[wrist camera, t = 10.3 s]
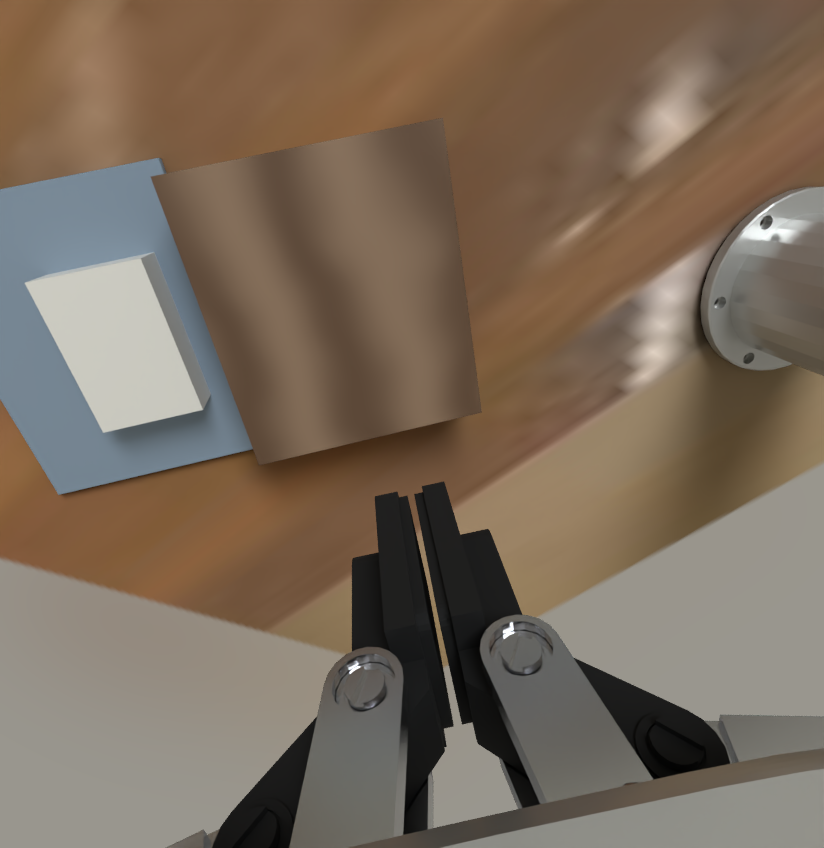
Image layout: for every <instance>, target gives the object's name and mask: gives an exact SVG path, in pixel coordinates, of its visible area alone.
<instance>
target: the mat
mask: <svg viewBox="0 0 824 848" xmlns="http://www.w3.org/2000/svg"><path fill="white" fill-rule="evenodd" d="M161 174H166V171H165V168H164V165H163V162H162V160H161V158H156V159H151V160H146V161H141V162H136V163H131V164H126V165H121V166H116V167H111V168H106V169H101V170H96V171H91V172H86V173H80V174H75V175H70V176H65V177H60V178H55V179H50V180H45V181H40V182H35V183H30V184H25V185H20V186H15V187H10V188H5V189H0V399H1V401H2V402H3V404H4V406H5V407H6V409H7V411H8V412H9V414H10V416H11V417H12V419H13V421H14V422H15V424H16V425H17V427H18V429H19V430H20V432H21V434H22V435H23V437H24V439H25V440H26V442H27V443H28V445H29V447H30V448H31V450H32V452H33V453H34V455H35V457H36V458H37V460H38V462H39V463H40V465H41V466H42V468H43V470H44V471H45V473H46V475H47V476H48V478H49V480H50V481H51V483H52V485H53V486H54V488H55V489H56V491H57V493H58V494H59V495H60V494H64V493H68V492H73V491H77V490H81V489H85V488H90V487H94V486H98V485H102V484H107V483H111V482H115V481H119V480H124V479H128V478H132V477H136V476H140V475H145V474H149V473H153V472H157V471H162V470H166V469H170V468H174V467H179V466H183V465H187V464H191V463H196V462H200V461H204V460H208V459H213V458H217V457H221V456H225V455H229V454H234V453H238V452H242V451H246V450H251V449H253V448H252V445H251V442H250V440H249V437H248V434H247V432H246V429H245V426H244V424H243V421H242V418H241V416H240V413H239V411H238V408H237V405H236V403H235V400H234V397H233V395H232V392H231V389H230V387H229V384H228V381H227V379H226V376H225V373H224V371H223V368H222V365H221V363H220V360H219V357H218V355H217V352H216V349H215V347H214V344H213V342H212V339H211V336H210V334H209V331H208V328H207V326H206V323H205V320H204V318H203V315H202V312H201V310H200V307H199V304H198V302H197V299H196V296H195V294H194V291H193V288H192V286H191V283H190V281H189V278H188V275H187V273H186V270H185V267H184V265H183V262H182V259H181V257H180V254H179V251H178V249H177V246H176V243H175V241H174V238H173V235H172V233H171V230H170V227H169V225H168V222H167V219H166V217H165V214H164V212H163V209H162V206H161V204H160V201H159V198H158V196H157V193H156V190H155V188H154V185H153V182H152V180H151V176H156V175H161ZM153 252H154V253H155V255H156V258H157V260H158V263H159V265H160V268H161V270H162V273H163V275H164V278H165V280H166V283H167V285H168V288H169V290H170V293H171V295H172V298H173V300H174V303H175V305H176V308H177V310H178V313H179V315H180V318H181V320H182V323H183V325H184V328H185V330H186V333H187V335H188V338H189V340H190V343H191V345H192V348H193V350H194V353H195V355H196V358H197V360H198V363H199V365H200V368H201V370H202V373H203V376H204V378H205V381H206V383H207V386H208V388H209V391H210V393H211V395H210V397H209V399H208V401H207V403H206V405H205V407H204V409H203V410H200V411H196V412H192V413H187V414H183V415H178V416H174V417H170V418H165V419H161V420H157V421H152V422H148V423H144V424H139V425H135V426H131V427H126V428H122V429H118V430H113V431H109V432H105V433H103V431H102V429H101V428H100V426H99V424H98V422H97V420H96V418H95V416H94V414H93V412H92V410H91V409H90V407H89V405H88V403H87V401H86V399H85V397H84V395H83V393H82V391H81V389H80V388H79V386H78V384H77V382H76V380H75V378H74V376H73V374H72V372H71V370H70V369H69V367H68V365H67V363H66V361H65V359H64V357H63V355H62V353H61V351H60V349H59V348H58V346H57V344H56V342H55V340H54V338H53V336H52V334H51V332H50V330H49V329H48V327H47V325H46V323H45V321H44V319H43V317H42V315H41V313H40V311H39V309H38V308H37V306H36V304H35V302H34V300H33V298H32V296H31V294H30V292H29V290H28V289H27V287H26V285H25V282H28V281H31V280H34V279H37V278H39V277H42V276H45V275H48V274H53V273H57V272H62V271H67V270H72V269H77V268H81V267H86V266H91V265H96V264H100V263H105V262H110V261H115V260H119V259H124V258H129V257H134V256H138V255H143V254H148V253H153Z"/></svg>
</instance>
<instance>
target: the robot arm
mask: <svg viewBox="0 0 824 848" xmlns="http://www.w3.org/2000/svg"><path fill="white" fill-rule="evenodd" d="M701 323H702V326H703V330H704V333H705V337H706V338H707V340H708V342H709V344H710V346H711V347H712V349H713V350H714V351H715V352H716V353H717V354H718V355H719V356H720V357H722V358H723V359H725V360H727V361H728V362H730V363H732V364H734V365H737V366H739V367H741V368H744V369H750V370H756V371H764V370H774V369H778V368H783V367H787V366H789V365H791V364H795V365H797V366H800V367H802V368H805V369H807V370H810V371H812V372H815V373H817V374H820V375H822V376H824V187H803V188H799V189H794V190H790V191H787V192H785V193H783V194H780V195H778V196H776V197H773V198H771V199H770V200H768V201H767V202H765V203H764V204H762V205H760V206H759V207H757V208H756V209H755V210H754V211H752V212H751V213H750V214H749V215H748V216H747V217H746V218H744V219H743V220H742V221H741V222H740V223H739V224H738V225H737V227H736V228H735V229H734V230H733V231H732V232H731V234H730V235H729V236H728V237H727V238H726V240H725V241H724V243H723V245H722V246H721V248H720V249H719V251H718V252H717V254H716V256H715V258H714V260H713V262H712V264H711V267H710V269H709V271H708V273H707V277H706V280H705V284H704V287H703V291H702V299H701ZM422 489H423V492H422V493H418V494H414V495H415V500H416V505H417V510H418V515H419V521H420V526H421V531H422V536H423V541H424V546H425V551H426V556H427V561H428V567H429V572H430V577H431V582H432V587H433V592H434V597H435V602H436V607H437V612H438V617H439V622H440V627H441V631H442V636H443V640H444V645H445V649H446V654H447V658H448V663H449V667H450V672H451V676H452V681H453V685H454V690H455V694H456V699H457V703H458V708H459V712H460V717H461V721H462V724H466V723H471V722H473V726H474V730H475V734H476V739H477V742H478V744H479V745H481V746H482V747H484V748H485V749H487V750H489V751H490V752H492V753H493V754H495V755H496V756H498V757H499V759H500V764H501V767H502V770H503V773H504V775H505V777H506V780H507V782H508V785H509V787H510V790H511V792H512V795H513V797H514V800H515V802H516V805H517V807H518V809H517V810H513V811H508V812H504V813H500V814H495V815H490V816H486V817H481V818H477V819H473V820H468V821H463V822H459V823H455V824H450V825H446V826H442V827H437V828H433V776H432V770H433V768H434V767H435V765H436V764H437V762H438V760H439V759H440V757H441V756H442V755H443V753H444V751H445V749H444V747H446V741H445V734H444V728H448V727H453V720H452V714H451V709H450V704H449V698H448V693H447V688H446V682H445V677H444V672H443V665H442V660H441V655H440V649H439V644H438V638H437V633H436V628H435V622H434V617H433V611H432V606H431V600H430V595H429V590H428V585H427V580H426V576H425V571H424V567H423V563H422V558H421V554H420V549H419V545H418V541H417V536H416V532H415V527H414V523H413V518H412V514H411V510H410V505H409V501H408V497H407V496H404V497H399V496H398V492H393V493H389V494H384V495H379V496H375V507H376V522H377V536H378V550H379V553H374V554H369V555H365V556H360V557H356V558H353V560H352V652H350V653H348V654H346V655H345V656H344V657H342V658H341V659H340V660H339V661H338V662H336V663H335V665H334V666H333V667H332V669H331V670H330V672H329V673H328V675H327V678H326V681H325V683H324V687H323V692H322V697H321V701H320V706H319V710H318V715H317V717H316V718H315V719H314V721H313V722H312V723H311V724H310V725H309V726H308V727H307V728H306V729H305V731H304V732H303V733H302V734H301V735H300V736H299V737H298V738H297V740H296V741H295V742H294V743H293V744H292V745H291V746H290V747H289V748H288V750H287V751H286V752H285V753H284V754H283V755H282V756H281V757H280V758H279V760H278V761H277V762H276V763H275V764H274V765H273V767H271V769H270V770H269V771H268V772H267V773H266V774H265V775H264V776H263V777H262V779H261V780H260V781H259V782H258V783H257V784H256V785H255V787H254V788H253V789H252V790H251V791H250V792H249V793H248V794H247V795H246V796H245V798H244V799H243V800H242V801H241V802H240V803H239V804H238V805H237V807H236V808H235V809H234V810H233V811H232V812H231V813H230V815H229V816H228V818H227V819H226V820H225V822H224V823H223V824H222V826H221V827H220V829H219V830H217V831H215V832H213V833H210V834H208V835H207V834H206V832H205V831H204V830H202V831H200V832H198V833H195V834H193V835H191V836H189V837H187V838H185V839H183V840H181V841H179V842H177V843H175V844H173V845H170V846H168V847H167V848H824V717H823V716H822V717H820V716H764V715H763V716H762V715H761V716H760V715H720V718H719V721H704V720H702V719H701V718H699V717H698V716H696V715H694V714H693V713H691V712H689V711H688V710H685V709H683V708H681V707H679V706H677V705H675V704H672V703H670V702H668V701H666V700H664V699H662V698H660V697H657V696H655V695H653V694H651V693H649V692H646V691H644V690H642V689H640V688H638V687H636V686H634V685H631V684H629V683H627V682H625V681H623V680H621V679H618V678H616V677H614V676H612V675H610V674H607V673H606V672H603V671H601V670H599V669H597V668H595V667H592V666H590V665H588V664H586V663H584V662H582V661H579V660H577V659H575V658H573V656H572V655H571V653H570V652H569V650H568V649H567V647H566V646H565V644H564V643H563V641H562V640H561V639H560V637H559V635H558V634H557V632H556V631H555V630H554V629H552V627H551V626H550V625H549V624H547V623H545V622H544V621H542V620H541V619H539V618H535V617H532V616H529V615H522V613H521V610H520V608H519V605H518V602H517V600H516V597H515V595H514V592H513V589H512V587H511V584H510V582H509V579H508V577H507V574H506V571H505V569H504V566H503V564H502V561H501V558H500V556H499V553H498V551H497V548H496V546H495V543H494V540H493V538H492V535H491V533H490V531H489V530H488V529H485V530H481V531H476V532H471V533H467V534H462V535H460V533H459V530H458V526H457V523H456V520H455V516H454V513H453V510H452V506H451V503H450V500H449V496H448V493H447V490H446V486H445V483H444V482H440V483H435V484H431V485H426V486H422Z"/></svg>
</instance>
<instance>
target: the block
mask: <svg viewBox="0 0 824 848" xmlns="http://www.w3.org/2000/svg"><path fill="white" fill-rule="evenodd" d="M25 285H26V287H27V289H28V290H29V292H30V294H31V296H32V298H33V300H34V302H35V304H36V306H37V308H38V309H39V311H40V313H41V315H42V317H43V319H44V321H45V323H46V325H47V327H48V329H49V330H50V332H51V334H52V336H53V338H54V340H55V342H56V344H57V346H58V348H59V349H60V351H61V353H62V355H63V357H64V359H65V361H66V363H67V365H68V367H69V369H70V370H71V372H72V374H73V376H74V378H75V380H76V382H77V384H78V386H79V388H80V389H81V391H82V393H83V395H84V397H85V399H86V401H87V403H88V405H89V407H90V409H91V410H92V412H93V414H94V416H95V418H96V420H97V422H98V424H99V426H100V428H101V429H102V431H103V433H105V432H109V431H113V430H118V429H122V428H126V427H131V426H135V425H139V424H144V423H148V422H152V421H157V420H161V419H165V418H170V417H174V416H178V415H183V414H187V413H192V412H196V411H200V410H203V409H204V407H205V405H206V403H207V401H208V399H209V397H210V395H211V393H210V391H209V388H208V386H207V383H206V381H205V378H204V376H203V373H202V370H201V368H200V365H199V363H198V360H197V358H196V355H195V353H194V350H193V348H192V345H191V343H190V340H189V338H188V335H187V333H186V330H185V328H184V325H183V323H182V320H181V318H180V315H179V313H178V310H177V308H176V305H175V303H174V300H173V298H172V295H171V293H170V290H169V288H168V285H167V283H166V280H165V278H164V275H163V273H162V270H161V268H160V265H159V263H158V260H157V258H156V255H155V253H154V252H153V253H148V254H143V255H138V256H134V257H129V258H124V259H119V260H115V261H110V262H105V263H100V264H96V265H91V266H86V267H81V268H77V269H72V270H67V271H62V272H57V273H53V274H48V275H45V276H42V277H39V278H37V279H34V280H31V281H28V282H25Z"/></svg>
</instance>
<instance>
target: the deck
mask: <svg viewBox="0 0 824 848" xmlns="http://www.w3.org/2000/svg"><path fill="white" fill-rule="evenodd" d="M151 180H152V182H153V185H154V188H155V190H156V193H157V196H158V198H159V201H160V204H161V206H162V209H163V212H164V214H165V217H166V219H167V222H168V225H169V227H170V230H171V233H172V235H173V238H174V241H175V243H176V246H177V249H178V251H179V254H180V257H181V259H182V262H183V265H184V267H185V270H186V273H187V275H188V278H189V281H190V283H191V286H192V288H193V291H194V294H195V296H196V299H197V302H198V304H199V307H200V310H201V312H202V315H203V318H204V320H205V323H206V326H207V328H208V331H209V334H210V336H211V339H212V342H213V344H214V347H215V349H216V352H217V355H218V357H219V360H220V363H221V365H222V368H223V371H224V373H225V376H226V379H227V381H228V384H229V387H230V389H231V392H232V395H233V397H234V400H235V403H236V405H237V408H238V411H239V413H240V416H241V418H242V421H243V424H244V426H245V429H246V432H247V434H248V437H249V440H250V442H251V445H252V448H253V450H254V453H255V456H256V458H257V461H258V464H259V465H263V464H267V463H271V462H275V461H279V460H284V459H288V458H292V457H296V456H300V455H305V454H309V453H313V452H317V451H321V450H326V449H330V448H334V447H338V446H342V445H347V444H351V443H355V442H359V441H363V440H368V439H372V438H376V437H380V436H384V435H389V434H393V433H397V432H401V431H405V430H410V429H414V428H418V427H422V426H426V425H431V424H435V423H439V422H443V421H447V420H452V419H456V418H460V417H464V416H468V415H473V414H477V413H481V412H482V411H481V403H480V396H479V388H478V381H477V373H476V365H475V358H474V350H473V343H472V335H471V328H470V320H469V313H468V305H467V297H466V290H465V282H464V275H463V267H462V260H461V252H460V245H459V237H458V229H457V222H456V214H455V207H454V199H453V192H452V184H451V177H450V169H449V161H448V154H447V146H446V139H445V131H444V124H443V118H440V119H435V120H430V121H425V122H420V123H415V124H410V125H405V126H400V127H395V128H390V129H385V130H380V131H375V132H370V133H365V134H360V135H355V136H350V137H345V138H340V139H335V140H330V141H325V142H320V143H315V144H310V145H305V146H300V147H295V148H290V149H285V150H280V151H275V152H270V153H265V154H260V155H256V156H251V157H246V158H241V159H236V160H231V161H226V162H221V163H216V164H211V165H206V166H201V167H196V168H191V169H186V170H181V171H176V172H171V173H166V174H161V175H156V176H151Z"/></svg>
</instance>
